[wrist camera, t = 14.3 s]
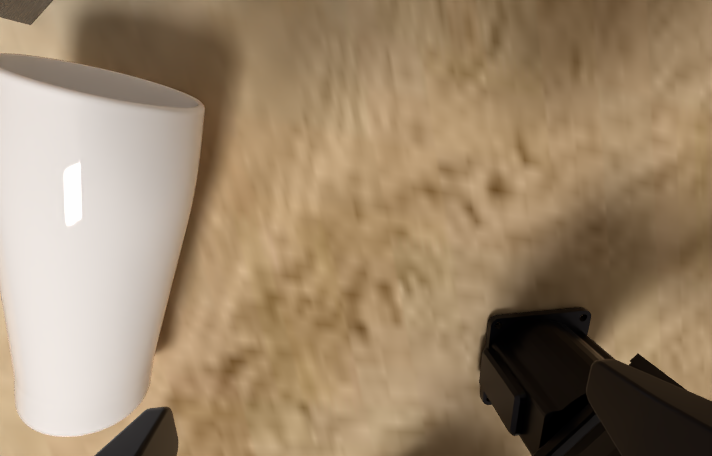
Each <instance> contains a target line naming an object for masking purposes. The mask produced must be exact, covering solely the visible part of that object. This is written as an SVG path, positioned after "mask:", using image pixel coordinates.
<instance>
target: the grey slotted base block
mask: <svg viewBox="0 0 712 456" xmlns="http://www.w3.org/2000/svg"><path fill="white" fill-rule="evenodd" d="M51 1H52V0H0V17H1V18H5V19H9V20H13V21H17V22H21V23H25V24H29V25H31V24H32V23H33V21H34V20H35V19H36V18H37V17H38V16H39V15H40V14H41V12H42V11H43V10H44V9H45V8H46V7H47V6H48V5H49V3H50V2H51Z"/></svg>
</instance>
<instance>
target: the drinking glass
mask: <svg viewBox="0 0 712 456" xmlns="http://www.w3.org/2000/svg"><path fill="white" fill-rule="evenodd" d="M204 114H205V107H204V105H203V104H202V103H201V102H200V101H199V100H198V99H196V98H194V97H192V96H190V95H188V94H186V93H183V92H181V91H178V90H176V89H173V88H170V87H167V86H164V85H161V84H158V83H155V82H152V81H148V80H145V79H142V78H138V77H134V76H131V75H127V74H123V73H119V72H115V71H111V70H107V69H102V68H98V67H93V66H89V65H84V64H79V63H74V62H69V61H63V60H57V59H51V58H45V57H38V56H31V55H22V54H9V53H0V294H1V300H2V306H3V311H4V317H5V323H6V329H7V335H8V341H9V347H10V353H11V360H12V366H13V373H14V397H15V406H16V410H17V413H18V415H19V417H20V418H21V420H22V421H23V422H24V423H25V424H26V425H27V426H28V427H30V428H32V429H33V430H35V431H37V432H40V433H42V434H46V435H50V436H56V437H74V436H82V435H87V434H91V433H95V432H98V431H101V430H104V429H106V428H108V427H111V426H113V425H115V424H116V423H118V422H120V421H121V420H123V419H124V418H126V417H127V416H128V415H129V414H131V413H132V412H133V411H134V410H135V409H136V408H137V407H138V406H139V405H140V403H141V402H142V401H143V399H144V397H145V396H146V394H147V391H148V389H149V386H150V382H151V375H152V368H153V361H154V356H155V352H156V348H157V343H158V339H159V335H160V331H161V327H162V323H163V319H164V315H165V311H166V307H167V303H168V299H169V295H170V291H171V287H172V283H173V280H174V276H175V272H176V268H177V264H178V260H179V256H180V252H181V249H182V245H183V241H184V237H185V233H186V229H187V225H188V221H189V217H190V213H191V208H192V203H193V199H194V193H195V188H196V182H197V176H198V169H199V162H200V154H201V145H202V135H203V124H204Z"/></svg>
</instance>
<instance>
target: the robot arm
mask: <svg viewBox="0 0 712 456" xmlns="http://www.w3.org/2000/svg"><path fill="white" fill-rule="evenodd" d="M581 315H582V316H581ZM580 316H581V317H580ZM590 319H591V314H590V312H589V311H587V310H586V309H585V308H582V307H579V308H568V309H557V310H546V311H534V312H523V313H512V314H501V315H494V316H492V317H491V318H490V319H489V321H488V326H487V336H486V345H485V348H484V350H483V352H482V361H481V370H480V380H479V383H480V385H481V391H480V397H481V399H482V401H483V402H484V404H486V405H493V407H494V408H495V410H496V412H497V413H498V415H499V417H500V418H501V420H502V422H503V423H504V425H505V427H506V428H507V430H508V431H509V432H510V433H511V434H512V435H513V436H516V435H519V436H520V437H521V439H522V441H523V442H524V444H525V445H526V447H527V449H528V450H529V452H530V453H531V455H532V456H712V401H710V400H707V399H705V398H703V397H701V396H698V395H696V394H694V393H691V392H689V391H687V390H686V389H684V388H683V387H682V386H680V385H679V384H678V383H676V382H675V381H674V380H672V379H671V378H670V377H668V376H667V375H666V374H665V373H663V372H662V371H661V370H659V369H658V368H657V367H655V366H654V365H653V364H651V363H650V362H649V361H647V360H646V359H645V358H643V357H642V356H641V355H639V354H637V355H636V356H635V357H634V358H633V359H631V360H630V362H631V363H630V364H629V365H627V364H624V363H622V362H620V361H617V360H615V359H614V358H613V357H612V356H611V355H609V354H608V353H607V352H606V351H605V350H604V349H602V348H601V347H600V346H599V345H598V344H596V343H595V342H594V341H593V340H592V339H591V338H589V337H588V336H587V333H588V329H589V324H590ZM497 322H499V324H498V325H496V326H495V324H496V323H497ZM177 451H178V436H177V431H176V427H175V422H174V418H173V414H172V411H171V409H170V408H169V407H158V408H150V409H147V410H145V411H144V412H143V413H142V414H141V415H140V416H138V417H137V418H136V419H135V420H134V421H133V422H132V423H131V424H129V425H128V426H127V427H126V428H125V429H124V430H123V431H122V432H120V433H119V434H118V435H117V436H116V437H115V438H114V439H113V440H111V441H110V442H109V443H108V444H107V445H106V446H105V447H104V448H102V449H101V450H100V451H99V452H98V453H97V454H96V455H95V456H177Z"/></svg>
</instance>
